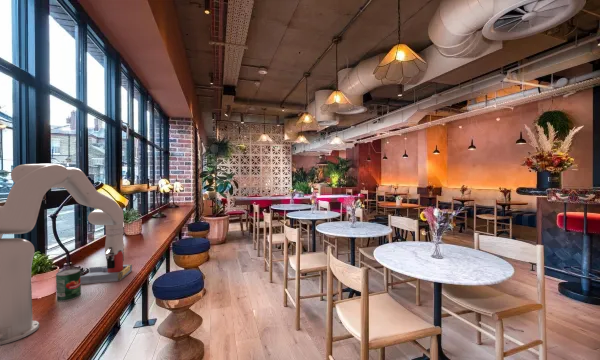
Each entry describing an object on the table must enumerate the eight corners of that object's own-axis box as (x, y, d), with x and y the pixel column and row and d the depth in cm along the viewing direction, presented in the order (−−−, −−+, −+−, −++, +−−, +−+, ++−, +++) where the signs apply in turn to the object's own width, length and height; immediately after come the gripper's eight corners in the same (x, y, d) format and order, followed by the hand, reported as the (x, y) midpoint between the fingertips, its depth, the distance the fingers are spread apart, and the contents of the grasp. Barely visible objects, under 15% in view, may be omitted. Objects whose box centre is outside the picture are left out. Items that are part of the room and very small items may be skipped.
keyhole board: (119, 281, 131) (119, 274, 131) (72, 285, 127) (72, 277, 127) (132, 270, 146) (132, 263, 146) (91, 273, 142) (91, 266, 142)
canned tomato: (62, 294, 117) (61, 270, 117) (84, 291, 120) (83, 267, 119) (52, 303, 109) (52, 276, 109) (76, 299, 112) (75, 273, 112)
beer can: (104, 275, 135) (103, 252, 135) (115, 271, 141) (115, 248, 141) (115, 276, 134) (114, 253, 133) (126, 272, 140) (125, 249, 140)
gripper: (114, 228, 145) (115, 260, 145) (97, 236, 128) (98, 271, 128) (130, 228, 146) (130, 259, 147) (114, 235, 130) (115, 270, 130)
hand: (115, 264), depth 138 cm, fingers open, 9 cm apart
